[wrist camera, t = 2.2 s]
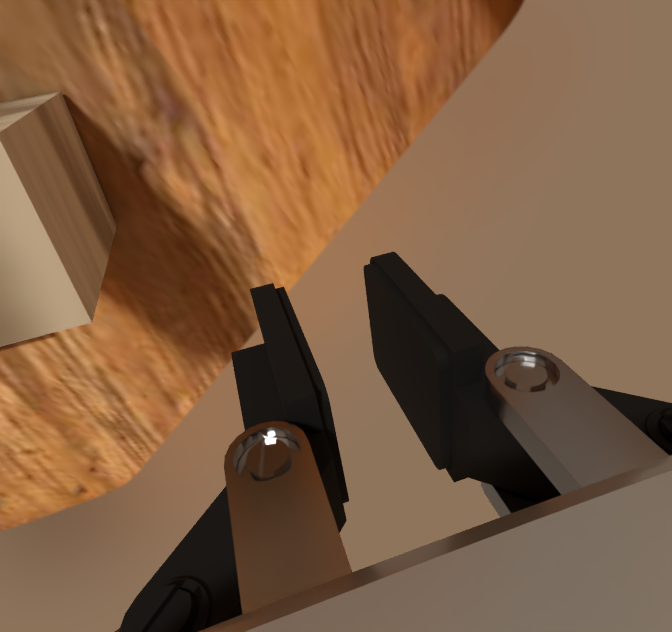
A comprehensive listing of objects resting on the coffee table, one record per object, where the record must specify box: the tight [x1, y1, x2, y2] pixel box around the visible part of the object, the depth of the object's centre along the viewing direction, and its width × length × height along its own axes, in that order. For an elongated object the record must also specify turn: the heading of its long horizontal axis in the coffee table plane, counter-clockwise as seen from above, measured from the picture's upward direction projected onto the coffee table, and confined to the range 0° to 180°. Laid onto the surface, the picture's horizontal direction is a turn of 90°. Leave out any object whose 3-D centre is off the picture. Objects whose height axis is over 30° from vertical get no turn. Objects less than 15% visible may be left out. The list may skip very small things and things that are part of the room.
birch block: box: [0, 92, 117, 346], centre depth 24 cm, size 5×8×12 cm, turn 8°
